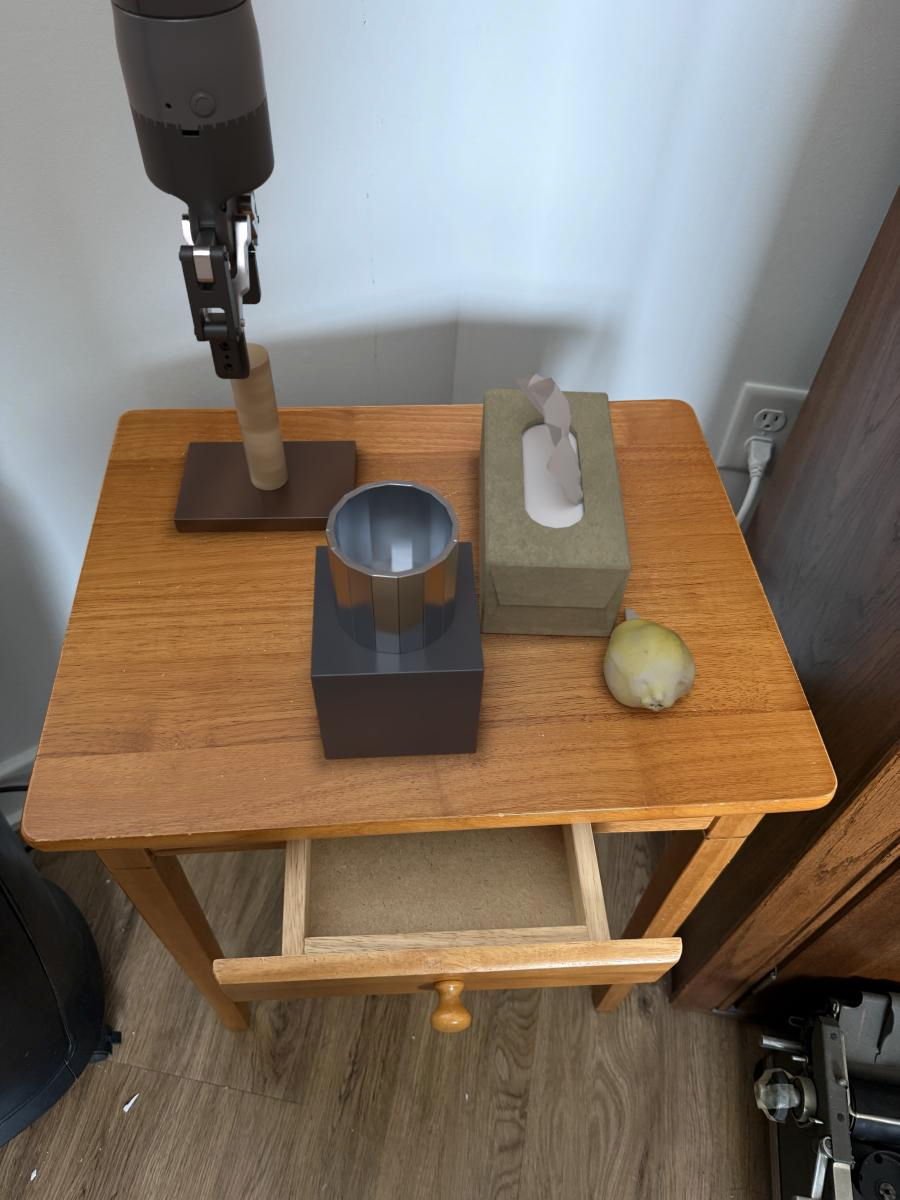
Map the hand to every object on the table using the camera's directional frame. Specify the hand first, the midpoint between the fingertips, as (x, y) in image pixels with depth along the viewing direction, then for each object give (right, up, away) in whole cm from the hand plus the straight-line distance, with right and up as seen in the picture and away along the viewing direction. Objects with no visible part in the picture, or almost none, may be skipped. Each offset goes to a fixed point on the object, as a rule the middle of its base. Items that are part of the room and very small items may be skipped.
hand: (240, 337), depth 62 cm
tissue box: (+22, -14, +9) cm, 27 cm away
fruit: (+28, -24, +2) cm, 37 cm away
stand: (+11, -25, 0) cm, 27 cm away
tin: (+11, -19, -8) cm, 23 cm away
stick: (0, -8, +11) cm, 14 cm away
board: (0, -9, +12) cm, 15 cm away
